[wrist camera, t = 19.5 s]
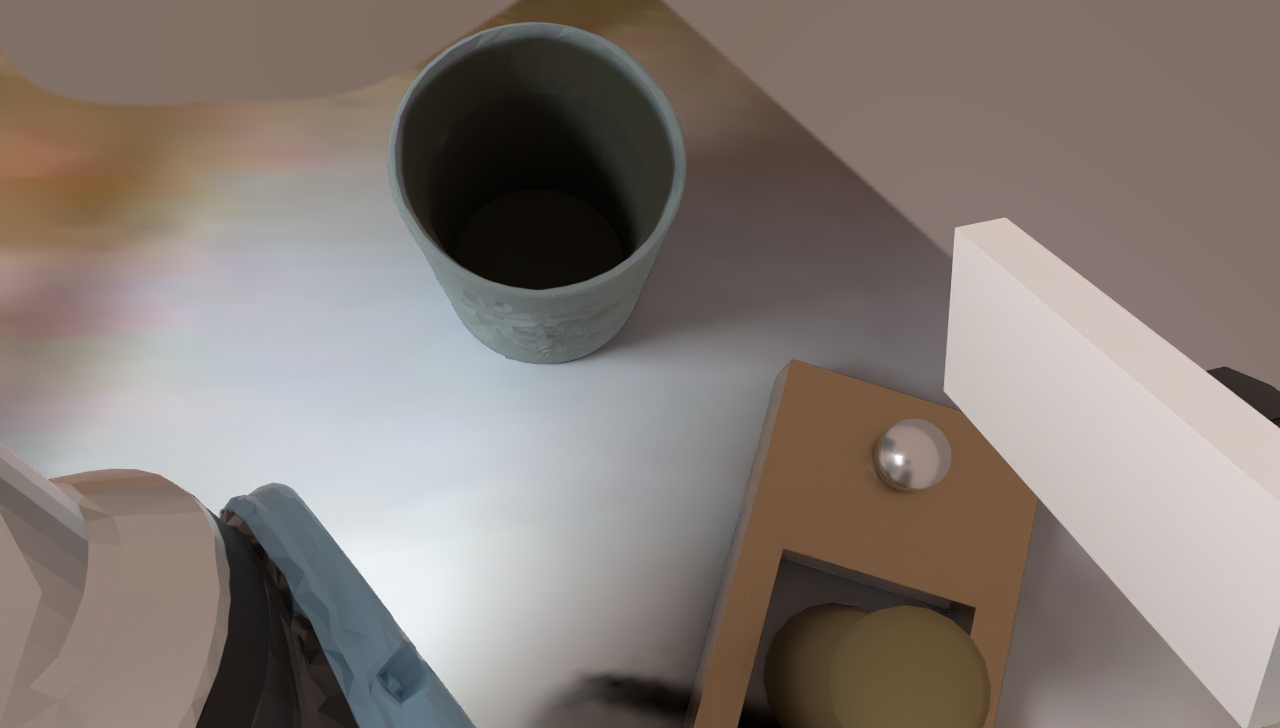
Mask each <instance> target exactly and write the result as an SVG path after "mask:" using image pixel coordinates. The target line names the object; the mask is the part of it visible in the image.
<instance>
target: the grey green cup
mask: <svg viewBox="0 0 1280 728" xmlns="http://www.w3.org/2000/svg"><path fill="white" fill-rule="evenodd" d="M387 163H388V173H389V182H390V186H391V190H392V195H393V199H394V202H395V204H396V206H397V208H398V211H399V213H400V215H401V217H402V219H403V220H404V222H405V224H406V225H407V227H408V229H409V231H410V232H411V234H412V236H413V237H414V239H415V241H416V242H417V244H418V245H419V247H420V248H421V250H422V251H423V253H424V255H425V256H426V258H427V260H428V262H429V263H430V265H431V267H432V269H433V271H434V273H435V275H436V277H437V279H438V281H439V283H440V284H441V286H442V287H443V288H444V290H445V293H446V295H447V296H448V298H449V299H450V301H451V303H452V306H453V307H454V309H455V311H456V312H457V314H458V316H459V317H460V319H461V321H462V322H463V324H464V325H465V326H466V328H467V329H468V330H469V331H470V332H471V333H472V334H473V336H474V337H476V338H477V339H478V340H479V341H480V342H482V343H483V344H484V345H486V346H487V347H489V348H490V349H492V350H494V351H495V352H497V353H499V354H501V355H504V356H505V357H506V358H508V359H514V360H518V361H522V362H525V363H535V364H555V363H561V362H567V361H571V360H574V359H577V358H580V357H583V356H585V355H587V354H590V353H592V352H593V351H595V350H597V349H598V348H600V347H601V346H603V345H604V344H605V343H607V342H608V341H609V340H611V339H612V338H613V337H614V336H615V335H616V334H617V333H618V332H619V330H620V329H621V328H622V327H623V326H624V324H625V323H626V321H627V320H628V318H629V316H630V315H631V313H632V311H633V309H634V307H635V305H636V302H637V300H638V298H639V295H640V293H641V290H642V287H643V284H644V283H645V281H646V280H647V278H648V276H649V273H650V271H651V269H652V267H653V265H654V262H655V259H656V257H657V255H658V252H659V249H660V247H661V246H662V243H663V241H664V239H665V237H666V235H667V233H668V231H669V229H670V227H671V225H672V223H673V221H674V219H675V217H676V215H677V213H678V209H679V206H680V203H681V200H682V196H683V193H684V188H685V180H686V172H687V160H686V149H685V142H684V136H683V132H682V129H681V126H680V123H679V120H678V117H677V114H676V111H675V109H674V107H673V106H672V104H671V102H670V100H669V98H668V96H667V95H666V93H665V92H664V90H663V89H662V88H661V86H660V85H659V84H658V83H657V82H656V80H655V79H654V78H653V77H652V75H651V74H650V73H649V72H648V71H647V70H646V69H645V68H644V67H643V66H642V65H641V64H640V63H639V62H638V61H637V60H636V59H635V58H634V57H633V56H632V55H630V54H629V53H628V52H626V51H625V50H623V49H622V48H621V47H619V46H618V45H616V44H614V43H612V42H610V41H608V40H606V39H604V38H602V37H600V36H598V35H596V34H593V33H590V32H587V31H584V30H581V29H578V28H575V27H572V26H566V25H560V24H553V23H542V22H526V23H517V24H508V25H503V26H499V27H495V28H491V29H487V30H484V31H481V32H479V33H477V34H474V35H472V36H470V37H467V38H465V39H463V40H461V41H459V42H457V43H456V44H454V45H453V46H451V47H449V48H448V49H446V50H445V51H443V52H442V53H441V54H440V55H439V56H437V57H436V58H435V59H434V60H433V61H431V62H430V63H429V64H428V65H427V66H425V68H424V69H423V70H422V71H421V72H420V74H419V75H418V76H417V77H416V78H415V80H414V81H413V82H412V83H411V85H410V87H409V88H408V90H407V92H406V93H405V95H404V97H403V98H402V100H401V102H400V104H399V106H398V109H397V111H396V113H395V116H394V119H393V123H392V127H391V131H390V135H389V144H388V157H387Z"/></svg>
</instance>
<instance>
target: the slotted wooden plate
mask: <svg viewBox="0 0 1280 728" xmlns="http://www.w3.org/2000/svg"><path fill="white" fill-rule="evenodd" d="M1037 502H1038V497H1037V495H1036V494H1035V493H1034V492H1033V491H1032V490H1031V489H1030V488H1029V486H1028V485H1027V484H1026V483H1025V482H1024V481H1023V480H1022V479H1021V477H1020V476H1019V475H1018V474H1017V473H1016V472H1015V471H1014V470H1013V468H1012V467H1011V466H1010V465H1009V464H1008V463H1007V462H1006V460H1005V459H1004V458H1003V457H1002V456H1001V455H1000V454H999V453H998V451H997V450H996V449H995V448H994V447H993V446H992V445H991V444H990V442H989V441H988V440H987V439H986V438H985V437H984V436H983V435H982V433H981V432H980V431H979V430H978V429H977V428H976V427H975V425H974V424H973V423H972V422H971V421H970V420H969V419H968V418H967V416H966V415H965V414H964V413H963V412H962V411H958V410H955V409H952V408H949V407H945V406H942V405H939V404H936V403H933V402H929V401H926V400H923V399H920V398H916V397H913V396H910V395H907V394H903V393H900V392H897V391H894V390H891V389H887V388H884V387H881V386H878V385H874V384H871V383H868V382H865V381H862V380H858V379H855V378H852V377H849V376H845V375H842V374H839V373H836V372H833V371H829V370H826V369H823V368H820V367H816V366H813V365H810V364H807V363H804V362H800V361H797V360H794V359H791V361H790V362H789V363H788V364H787V365H786V366H785V367H784V369H783V370H782V371H781V372H780V373H779V374H778V376H777V378H776V381H775V385H774V389H773V392H772V396H771V400H770V404H769V407H768V411H767V415H766V418H765V422H764V426H763V429H762V433H761V437H760V441H759V444H758V448H757V452H756V455H755V459H754V463H753V467H752V470H751V474H750V478H749V481H748V485H747V489H746V492H745V496H744V500H743V504H742V507H741V511H740V515H739V518H738V522H737V526H736V530H735V533H734V537H733V541H732V544H731V548H730V552H729V555H728V559H727V563H726V567H725V570H724V574H723V578H722V581H721V585H720V589H719V593H718V596H717V600H716V604H715V607H714V611H713V615H712V618H711V622H710V626H709V630H708V633H707V637H706V641H705V644H704V648H703V652H702V656H701V659H700V663H699V667H698V670H697V674H696V678H695V681H694V685H693V689H692V693H691V696H690V700H689V704H688V707H687V711H686V715H685V718H684V722H683V726H682V728H737V726H738V723H739V719H740V715H741V711H742V707H743V703H744V699H745V695H746V691H747V687H748V684H749V680H750V676H751V672H752V668H753V664H754V660H755V656H756V652H757V649H758V645H759V641H760V637H761V633H762V629H763V625H764V621H765V617H766V613H767V610H768V606H769V602H770V598H771V594H772V590H773V586H774V582H775V578H776V574H777V571H778V567H779V563H780V559H781V558H782V559H785V560H788V561H792V562H795V563H798V564H801V565H805V566H808V567H811V568H814V569H818V570H821V571H824V572H827V573H831V574H834V575H837V576H840V577H844V578H847V579H850V580H853V581H857V582H860V583H863V584H866V585H870V586H873V587H876V588H879V589H882V590H886V591H889V592H892V593H895V594H899V595H902V596H905V597H908V598H912V599H915V600H918V601H921V602H925V603H928V604H931V605H934V606H938V607H941V608H944V609H947V610H949V611H948V616H947V618H949V619H951V620H952V621H954V622H955V623H956V624H957V625H958V626H959V627H960V628H961V629H962V630H963V631H964V632H966V633H967V634H968V635H969V636H970V637H971V638H972V639H973V641H974V642H975V644H976V646H977V648H978V649H979V651H980V653H981V655H982V656H983V658H984V660H985V662H986V667H987V671H988V675H989V679H990V683H991V695H990V710H989V713H988V716H987V718H986V721H985V724H984V727H983V728H993V727H994V722H995V717H996V712H997V707H998V702H999V697H1000V692H1001V686H1002V681H1003V676H1004V671H1005V666H1006V661H1007V656H1008V651H1009V645H1010V640H1011V635H1012V630H1013V625H1014V620H1015V615H1016V610H1017V605H1018V599H1019V594H1020V589H1021V584H1022V579H1023V574H1024V569H1025V564H1026V558H1027V553H1028V548H1029V543H1030V538H1031V533H1032V528H1033V523H1034V517H1035V512H1036V507H1037Z"/></svg>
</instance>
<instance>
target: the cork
mask: <svg viewBox="0 0 1280 728" xmlns="http://www.w3.org/2000/svg"><path fill="white" fill-rule="evenodd" d="M764 683H765V688H766V693H767V698H768V703H769V705H770V707H771V709H772V711H773V713H774V715H775V716H776V718H777V720H778V722H779V724H780V725H781V726H782V727H783V728H983V727H984V724H985V721H986V718H987V716H988V713H989V710H990V695H991V683H990V679H989V675H988V671H987V667H986V662H985V660H984V658H983V656H982V655H981V653H980V651H979V649H978V648H977V646H976V644H975V642H974V641H973V639H972V638H971V637H970V636H969V635H968V634H967V633H966V632H964V631H963V630H962V629H961V628H960V627H959V626H958V625H957V624H956V623H955V622H954V621H952V620H951V619H949V618H947V617H945V616H943V615H941V614H939V613H937V612H935V611H933V610H931V609H929V608H922V607H915V606H908V605H903V606H897V607H892V608H886V609H881V610H876V611H875V612H873V613H870V612H868V611H865V610H862V609H860V608H857V607H854V606H849V605H842V604H835V603H829V604H823V605H818V606H813V607H809V608H807V609H805V610H804V611H802V612H800V613H798V614H797V615H795V616H793V617H791V618H790V619H789V620H788V621H787V622H786V624H785V625H784V626H783V627H782V628H781V629H780V630H779V631H778V633H777V634H776V635H775V637H774V639H773V642H772V644H771V646H770V649H769V651H768V653H767V656H766V664H765V674H764Z"/></svg>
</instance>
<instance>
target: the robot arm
mask: <svg viewBox="0 0 1280 728" xmlns="http://www.w3.org/2000/svg"><path fill="white" fill-rule="evenodd" d="M944 392H945V393H946V394H947V395H948V396H949V397H950V398H951V400H952V401H953V402H954V403H955V404H956V405H957V406H958V407H959V409H960V410H961V411H962V412H963V413H964V414H965V415H966V416H967V418H968V419H969V420H970V421H971V422H972V423H973V424H974V425H975V427H976V428H977V429H978V430H979V431H980V432H981V433H982V435H983V436H984V437H985V438H986V439H987V440H988V441H989V442H990V444H991V445H992V446H993V447H994V448H995V449H996V450H997V451H998V453H999V454H1000V455H1001V456H1002V457H1003V458H1004V459H1005V460H1006V462H1007V463H1008V464H1009V465H1010V466H1011V467H1012V468H1013V470H1014V471H1015V472H1016V473H1017V474H1018V475H1019V476H1020V477H1021V479H1022V480H1023V481H1024V482H1025V483H1026V484H1027V485H1028V486H1029V488H1030V489H1031V490H1032V491H1033V492H1034V493H1035V494H1036V495H1037V497H1038V498H1039V499H1040V500H1041V501H1042V502H1043V503H1044V505H1045V506H1046V507H1047V508H1048V509H1049V510H1050V511H1051V512H1052V514H1053V515H1054V516H1055V517H1056V518H1057V519H1058V520H1059V521H1060V523H1061V524H1062V525H1063V526H1064V527H1065V528H1066V529H1067V530H1068V532H1069V533H1070V534H1071V535H1072V536H1073V537H1074V538H1075V540H1076V541H1077V542H1078V543H1079V544H1080V545H1081V546H1082V547H1083V549H1084V550H1085V551H1086V552H1087V553H1088V554H1089V555H1090V556H1091V558H1092V559H1093V560H1094V561H1095V562H1096V563H1097V564H1098V566H1099V567H1100V568H1101V569H1102V570H1103V571H1104V572H1105V573H1106V575H1107V576H1108V577H1109V578H1110V579H1111V580H1112V581H1113V582H1114V584H1115V585H1116V586H1117V587H1118V588H1119V589H1120V590H1121V591H1122V593H1123V594H1124V595H1125V596H1126V597H1127V598H1128V599H1129V601H1130V602H1131V603H1132V604H1133V605H1134V606H1135V607H1136V608H1137V610H1138V611H1139V612H1140V613H1141V614H1142V615H1143V616H1144V617H1145V619H1146V620H1147V621H1148V622H1149V623H1150V624H1151V625H1152V626H1153V628H1154V629H1155V630H1156V631H1157V632H1158V633H1159V634H1160V636H1161V637H1162V638H1163V639H1164V640H1165V641H1166V642H1167V643H1168V645H1169V646H1170V647H1171V648H1172V649H1173V650H1174V651H1175V652H1176V654H1177V655H1178V656H1179V657H1180V658H1181V659H1182V660H1183V661H1184V663H1185V664H1186V665H1187V666H1188V667H1189V668H1190V669H1191V671H1192V672H1193V673H1194V674H1195V675H1196V676H1197V677H1198V678H1199V680H1200V681H1201V682H1202V683H1203V684H1204V685H1205V686H1206V687H1207V689H1208V690H1209V691H1210V692H1211V693H1212V694H1213V695H1214V696H1215V698H1216V699H1217V700H1218V701H1219V702H1220V703H1221V704H1222V706H1223V707H1224V708H1225V709H1226V710H1227V711H1228V712H1229V713H1230V715H1231V716H1232V717H1233V718H1234V719H1235V720H1236V721H1237V722H1238V724H1239V725H1240V726H1241V727H1242V728H1262V727H1265V726H1269V725H1272V724H1276V723H1279V722H1280V391H1278V390H1277V389H1275V388H1274V387H1272V386H1271V385H1269V384H1267V383H1264V382H1262V381H1259V380H1257V379H1255V378H1252V377H1249V376H1247V375H1245V374H1242V373H1240V372H1238V371H1235V370H1232V369H1230V368H1228V367H1221V368H1217V369H1212V370H1208V371H1205V370H1203V369H1202V368H1201V367H1199V366H1198V365H1197V364H1195V363H1194V362H1193V361H1191V360H1190V359H1189V358H1188V357H1186V356H1185V355H1184V354H1182V353H1181V352H1180V351H1179V350H1177V349H1176V348H1175V347H1173V346H1172V345H1171V344H1169V343H1168V342H1167V341H1166V340H1164V339H1163V338H1162V337H1160V336H1159V335H1158V334H1156V333H1155V332H1154V331H1153V330H1151V329H1150V328H1148V327H1147V326H1146V325H1145V324H1143V323H1142V322H1141V321H1140V320H1138V319H1137V318H1136V317H1134V316H1133V315H1132V314H1130V313H1129V312H1128V311H1127V310H1125V309H1124V308H1123V307H1121V306H1120V305H1119V304H1117V303H1116V302H1115V301H1113V300H1112V299H1111V298H1110V297H1108V296H1107V295H1106V294H1104V293H1103V292H1102V291H1101V290H1099V289H1098V288H1096V287H1095V286H1094V285H1093V284H1091V283H1090V282H1089V281H1088V280H1086V279H1085V278H1084V277H1082V276H1081V275H1080V274H1078V273H1077V272H1076V271H1074V270H1073V269H1072V268H1070V267H1069V266H1068V265H1067V264H1065V263H1064V262H1062V260H1060V259H1059V258H1058V257H1056V256H1055V255H1054V254H1052V253H1051V252H1050V251H1048V250H1047V249H1046V248H1044V247H1043V246H1042V245H1040V244H1039V243H1038V242H1037V241H1036V240H1034V239H1033V238H1032V237H1030V236H1029V235H1028V234H1026V233H1025V232H1024V231H1022V230H1021V229H1020V228H1019V227H1017V226H1016V225H1015V224H1013V223H1012V222H1011V221H1010V220H1008V219H1007V218H1001V219H995V220H990V221H985V222H980V223H975V224H970V225H965V226H960V227H956V228H955V237H954V251H953V265H952V279H951V293H950V308H949V322H948V336H947V350H946V364H945V379H944ZM0 728H476V727H475V725H474V724H473V723H472V721H471V720H470V719H469V717H468V716H467V715H466V713H465V712H464V710H463V709H462V708H461V706H460V705H459V704H458V703H457V701H456V700H455V699H454V697H453V696H452V695H451V693H450V692H449V691H448V690H447V688H446V687H445V686H444V684H443V683H442V682H441V681H440V679H439V678H438V677H437V675H436V674H435V673H434V672H433V670H432V669H431V668H430V666H429V665H428V664H427V663H426V662H425V661H424V659H423V658H422V657H421V655H420V654H419V653H418V651H417V650H416V647H415V646H414V644H413V643H412V642H411V641H410V639H409V638H408V637H407V636H406V634H405V633H404V632H403V631H402V629H401V628H400V627H399V625H398V624H397V623H396V621H395V620H394V619H393V617H392V615H391V614H390V612H389V611H388V610H387V608H386V607H385V606H384V604H383V603H382V602H381V600H380V599H379V598H378V596H377V595H376V594H375V592H374V591H373V590H372V588H371V587H370V586H369V584H368V583H367V582H366V580H365V579H364V578H363V577H362V575H361V574H360V573H359V571H358V570H357V569H356V567H355V566H354V565H353V564H352V562H351V561H350V560H349V558H348V557H347V556H346V555H345V553H344V552H343V551H342V549H341V548H340V547H339V546H338V544H337V543H336V542H335V540H334V539H333V538H332V537H331V535H330V534H329V533H328V531H327V530H326V529H325V528H324V526H323V525H322V524H321V522H320V521H319V520H318V519H317V517H316V516H315V515H314V514H313V512H312V511H311V510H310V509H309V507H308V506H307V505H306V504H305V503H304V501H303V500H302V499H301V498H300V497H299V495H298V494H297V493H296V492H295V491H294V490H293V489H292V488H290V487H289V486H286V485H283V484H278V483H271V484H267V485H264V486H261V487H259V488H257V489H256V490H254V491H253V492H252V493H250V494H249V495H242V496H237V497H234V498H231V499H230V501H229V502H228V503H227V505H226V506H225V507H224V509H222V510H220V515H219V518H218V517H217V516H216V515H214V514H213V513H212V512H211V511H210V510H209V509H207V508H206V507H205V506H204V505H203V504H202V503H201V502H200V501H199V500H198V499H197V498H196V497H195V496H193V495H192V494H190V493H189V492H187V491H185V490H184V489H182V488H181V487H179V486H177V485H176V484H174V483H173V482H171V481H169V480H167V479H166V478H164V477H162V476H161V475H158V474H154V473H150V472H145V471H141V470H136V469H106V470H97V471H88V472H83V473H78V474H73V475H68V476H63V477H58V478H53V479H48V480H47V479H46V478H45V477H43V476H42V475H41V474H40V473H38V472H37V471H36V470H34V469H33V468H32V467H31V466H29V465H28V464H27V463H25V462H24V461H23V460H21V459H20V458H19V457H18V456H16V455H15V454H14V453H12V452H11V451H10V450H8V449H7V448H6V447H5V446H3V445H2V444H1V443H0Z"/></svg>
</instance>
